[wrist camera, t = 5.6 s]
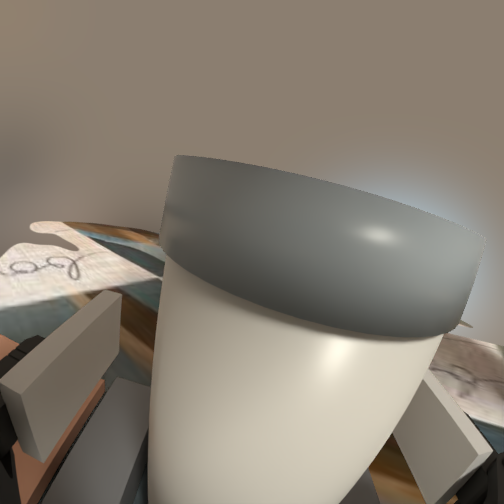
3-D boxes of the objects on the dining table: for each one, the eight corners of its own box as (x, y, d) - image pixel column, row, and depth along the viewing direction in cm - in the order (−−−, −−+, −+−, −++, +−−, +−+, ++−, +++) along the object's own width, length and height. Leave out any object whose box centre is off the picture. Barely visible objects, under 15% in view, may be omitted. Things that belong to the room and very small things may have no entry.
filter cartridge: (283, 490, 13) (397, 216, 10) (292, 591, 6) (549, 264, 3) (159, 470, 13) (203, 166, 10) (131, 572, 6) (111, 137, 3)
